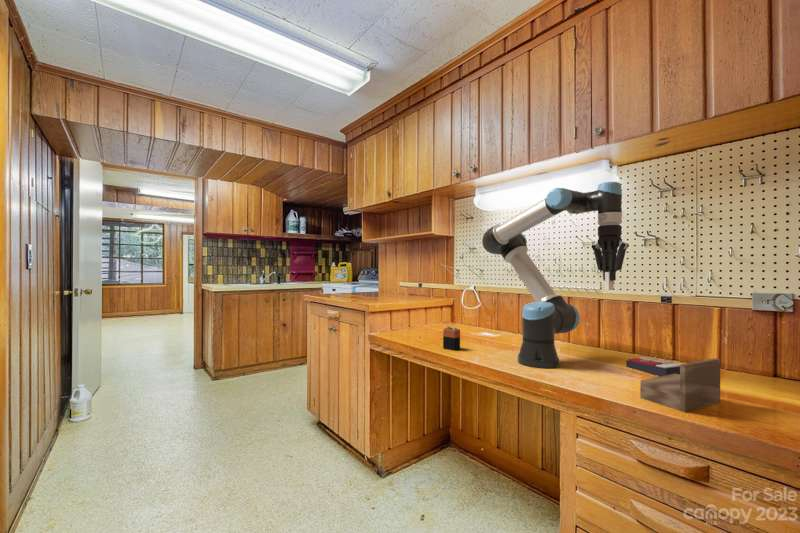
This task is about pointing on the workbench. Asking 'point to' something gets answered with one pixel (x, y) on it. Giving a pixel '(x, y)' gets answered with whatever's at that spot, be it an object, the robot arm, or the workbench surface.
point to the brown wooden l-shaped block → (685, 386)
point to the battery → (451, 338)
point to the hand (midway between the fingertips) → (609, 289)
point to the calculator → (654, 366)
